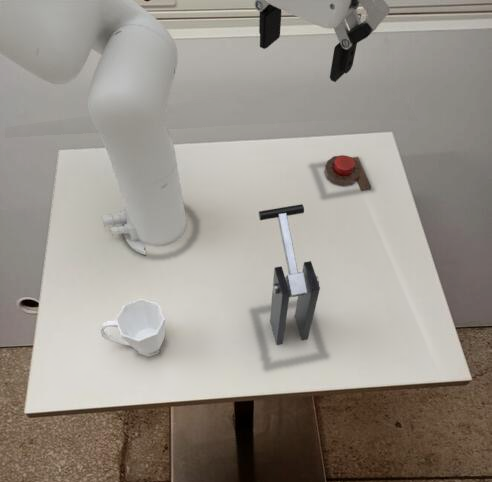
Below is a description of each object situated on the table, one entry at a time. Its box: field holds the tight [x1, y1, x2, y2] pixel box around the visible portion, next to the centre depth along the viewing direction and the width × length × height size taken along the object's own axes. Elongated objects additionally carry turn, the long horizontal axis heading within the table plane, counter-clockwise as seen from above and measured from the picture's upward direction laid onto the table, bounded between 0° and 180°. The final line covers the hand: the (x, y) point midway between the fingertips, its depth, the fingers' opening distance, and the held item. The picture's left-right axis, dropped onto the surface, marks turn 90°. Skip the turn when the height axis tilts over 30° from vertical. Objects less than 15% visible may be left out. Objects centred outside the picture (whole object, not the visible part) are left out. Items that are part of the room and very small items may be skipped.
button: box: [332, 154, 355, 177], centre depth 92 cm, size 4×4×2 cm
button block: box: [323, 154, 372, 192], centre depth 93 cm, size 9×8×2 cm
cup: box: [100, 297, 166, 358], centre depth 74 cm, size 7×10×8 cm
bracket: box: [269, 260, 321, 346], centre depth 72 cm, size 10×9×16 cm
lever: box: [258, 203, 308, 299], centre depth 67 cm, size 12×6×2 cm, turn 12°
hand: (303, 58), depth 58 cm, fingers open, 9 cm apart
